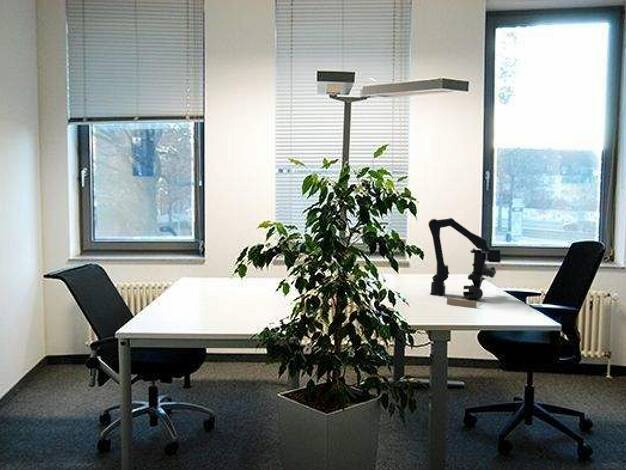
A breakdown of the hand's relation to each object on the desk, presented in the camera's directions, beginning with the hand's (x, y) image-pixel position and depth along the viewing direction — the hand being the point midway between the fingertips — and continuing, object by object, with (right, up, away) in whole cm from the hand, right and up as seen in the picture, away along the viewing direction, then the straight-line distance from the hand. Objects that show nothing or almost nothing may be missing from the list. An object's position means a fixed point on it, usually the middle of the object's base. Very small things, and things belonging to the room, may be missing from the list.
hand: (477, 291), depth 335 cm
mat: (-11, -4, -18) cm, 22 cm away
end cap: (-5, -3, -8) cm, 10 cm away
